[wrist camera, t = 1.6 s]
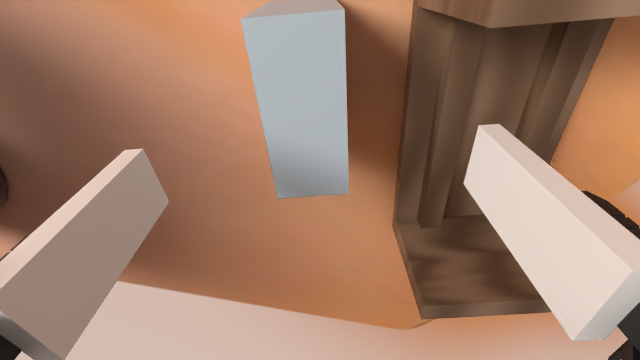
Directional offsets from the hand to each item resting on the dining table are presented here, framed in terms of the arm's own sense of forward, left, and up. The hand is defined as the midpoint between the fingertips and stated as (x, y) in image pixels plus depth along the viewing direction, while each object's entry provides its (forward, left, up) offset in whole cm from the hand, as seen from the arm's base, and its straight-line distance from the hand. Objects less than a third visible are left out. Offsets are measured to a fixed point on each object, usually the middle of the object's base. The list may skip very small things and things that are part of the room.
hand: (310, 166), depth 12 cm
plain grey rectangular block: (0, 0, -14) cm, 14 cm away
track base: (+15, -6, -14) cm, 21 cm away
